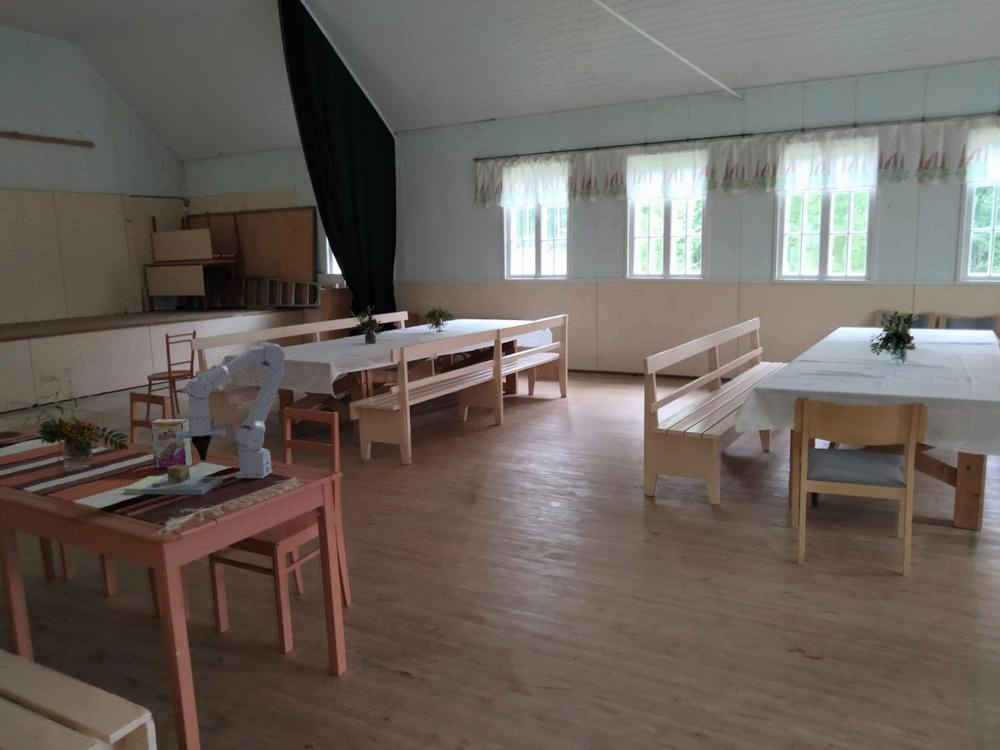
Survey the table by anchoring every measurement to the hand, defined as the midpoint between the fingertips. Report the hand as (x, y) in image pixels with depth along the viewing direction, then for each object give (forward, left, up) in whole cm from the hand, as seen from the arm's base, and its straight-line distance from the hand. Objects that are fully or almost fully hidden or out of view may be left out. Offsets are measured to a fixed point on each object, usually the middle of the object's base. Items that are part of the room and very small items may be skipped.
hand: (203, 459), depth 232 cm
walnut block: (+8, +1, -7) cm, 11 cm away
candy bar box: (+22, -19, -8) cm, 30 cm away
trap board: (+8, +3, -8) cm, 12 cm away
